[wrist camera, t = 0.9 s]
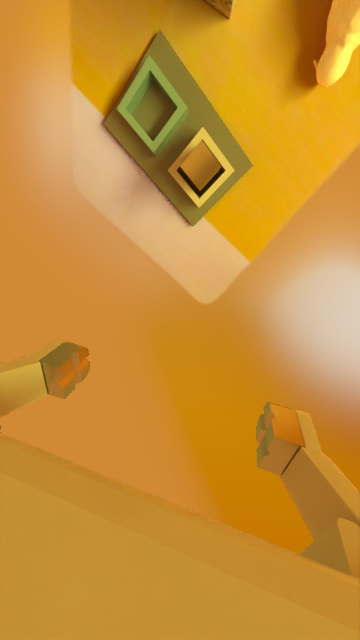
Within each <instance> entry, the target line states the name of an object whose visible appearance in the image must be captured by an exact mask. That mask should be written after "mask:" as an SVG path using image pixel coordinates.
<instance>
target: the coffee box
mask: <svg viewBox="0 0 360 640" xmlns="http://www.w3.org/2000/svg"><path fill="white" fill-rule="evenodd" d="M205 1H206V2H207V3H209V4H210V5H212V6H213V7H214V8H216V9H217V10H218V11H220V12H221V13H222V14H224V15H225V16H226V17H228V18H229V19H230V17H231V15H232V13H233V10H234V8H235V5H236V2H237V0H205Z"/></svg>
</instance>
